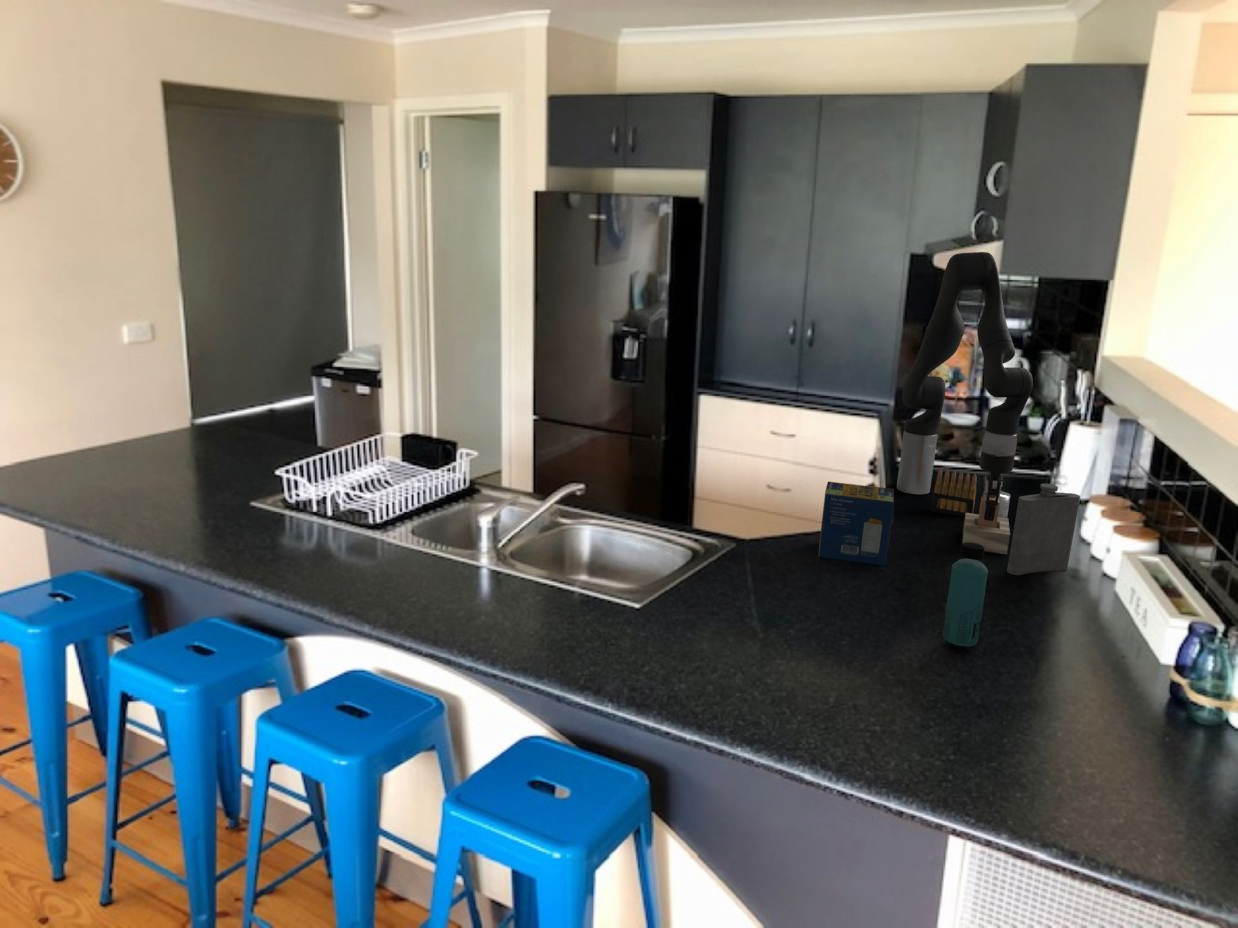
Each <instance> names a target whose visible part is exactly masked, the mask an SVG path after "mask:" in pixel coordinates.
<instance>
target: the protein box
mask: <svg viewBox="0 0 1238 928" xmlns="http://www.w3.org/2000/svg"><path fill="white" fill-rule="evenodd" d="M894 497H895V489H894V488H889V487H881V486H880V487H879V486H871V485H862V484H855V483H853V484H852V483H843V482H835V481H827V483H826V487H825V491H824V501H823V508H822V518H821V526H820V535H819V542H818V543H819V544H818V545H819V547H818V558H822V559H823V558H825V559H830V560H831V559H832V560H839V561H844V560H845V562H852V561H854V562H853V563H859V562H861V564H866V563H868V564H869V565H874V564H875V565H874V566H882V567H885V566H887V560H888V552H889V546H890V545H889V544H890V536H891V530H892V529H891V528H892V520H893V513H894V503H895V502H894V501H895V500H894V499H895V498H894Z"/></svg>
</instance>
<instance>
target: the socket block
mask: <svg viewBox="0 0 1238 928" xmlns="http://www.w3.org/2000/svg"><path fill="white" fill-rule="evenodd" d="M978 517H979V513H978V514H977V513H973V514H971V513H966V514H965V517H964V522H963V529H962V544H963V543H965V542H973V543H978V544H980V545H982V546H984V552H987V553H995V554H1001V555H1008V550H1009V542H1010V538H1011V537H1010V536H1011V530H1010V523H1009V518H1008V517H1007V518H1000V517H998V518H997V524H996V528H992V527H985V526H978V525H977V524H978Z"/></svg>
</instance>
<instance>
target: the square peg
mask: <svg viewBox="0 0 1238 928" xmlns="http://www.w3.org/2000/svg"><path fill="white" fill-rule="evenodd" d="M980 498H981V499H980V505H979V512H978V515H979V517H978V524H977V525H978V526H985V527H992V528H996V524H997V518H998V511H999V505H1000V501H999V498H998V504H997V506H996V509H995V515H994V520H993V521H988V520H985V519H984V514H985V508H986V503H985V501H986V497H983V495H981V497H980ZM989 500H995V498H991V497H989Z"/></svg>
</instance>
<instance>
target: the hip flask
mask: <svg viewBox="0 0 1238 928" xmlns="http://www.w3.org/2000/svg"><path fill="white" fill-rule="evenodd" d="M1039 487H1040V493H1037V494H1028V495H1027V494H1026V495H1022V496H1021V495H1020V496H1019V497H1018V500H1017V501H1018V502H1017V509H1016V513H1015V521H1014V524H1013V525H1014V527H1013V532H1012V538H1011V545H1010V551H1009V557H1008V563H1007V569H1006V572H1007V573H1008V574H1010V575H1014V576H1022V575H1025V574H1032V573H1041V572H1053V571H1056V572H1057V571H1067V570H1068V566H1069V562H1070V557H1071V552H1072V551H1071V550H1072V545H1073V539H1074V532H1075V529H1076V522H1077V518H1078V517H1077V516H1078V512H1079V511H1078V510H1079V505H1080V501H1081V495H1079V494H1076V493H1071V492H1060V491H1059V492H1058V490H1059V487H1058V486H1057V485H1055V484H1052V483H1041V484H1040V486H1039Z"/></svg>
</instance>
